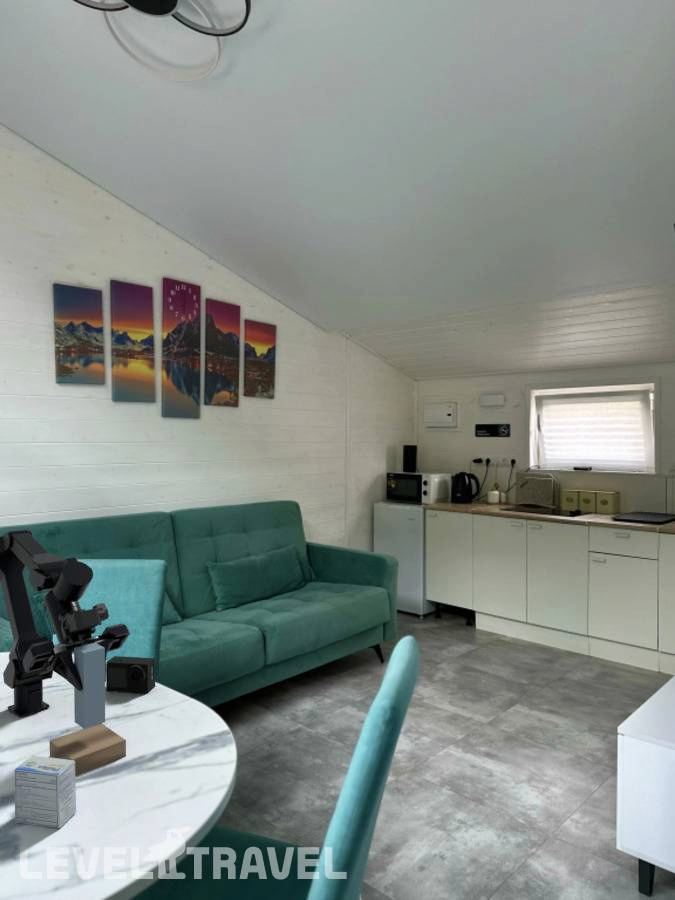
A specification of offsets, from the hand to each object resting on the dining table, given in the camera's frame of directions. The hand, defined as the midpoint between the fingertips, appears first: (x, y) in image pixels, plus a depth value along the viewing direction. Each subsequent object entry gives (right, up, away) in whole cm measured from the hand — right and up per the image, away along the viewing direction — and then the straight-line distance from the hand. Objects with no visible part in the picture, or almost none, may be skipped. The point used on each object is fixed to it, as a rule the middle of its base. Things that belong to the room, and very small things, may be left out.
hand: (92, 686), depth 118 cm
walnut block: (-1, -13, +1) cm, 14 cm away
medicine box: (0, -14, -18) cm, 23 cm away
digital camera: (-4, -13, +32) cm, 35 cm away
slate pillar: (-1, -7, +1) cm, 7 cm away
